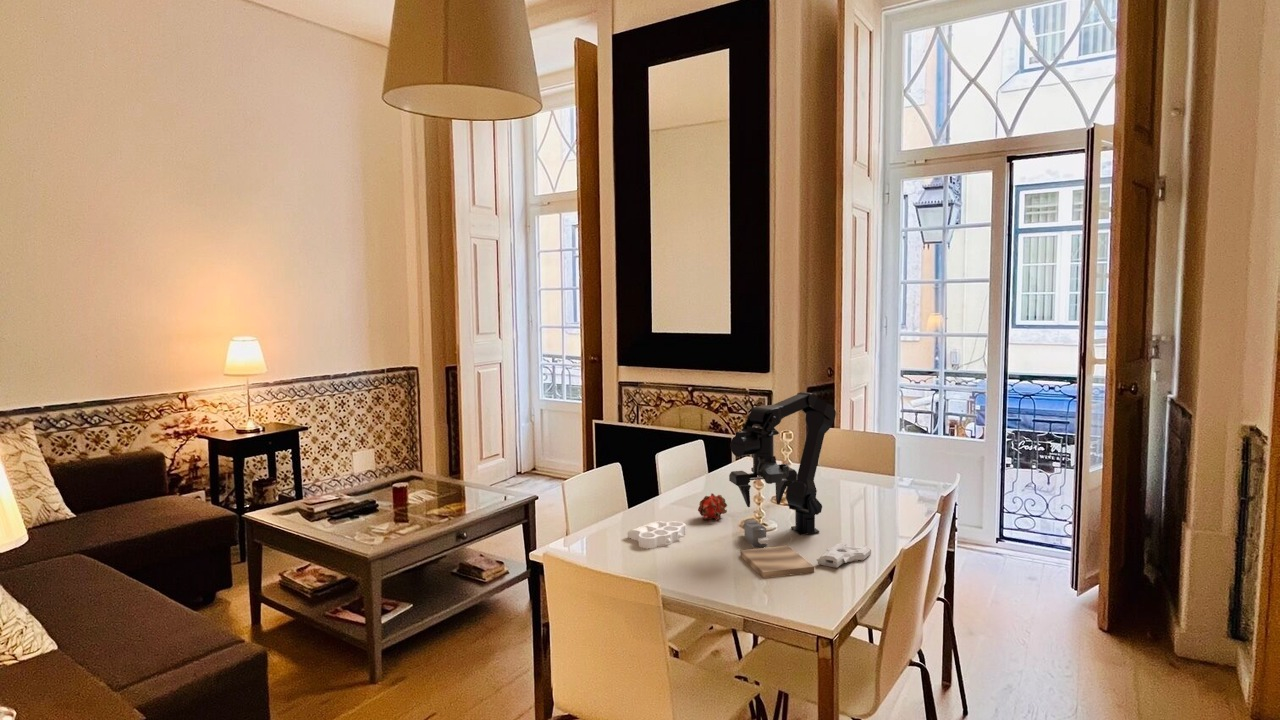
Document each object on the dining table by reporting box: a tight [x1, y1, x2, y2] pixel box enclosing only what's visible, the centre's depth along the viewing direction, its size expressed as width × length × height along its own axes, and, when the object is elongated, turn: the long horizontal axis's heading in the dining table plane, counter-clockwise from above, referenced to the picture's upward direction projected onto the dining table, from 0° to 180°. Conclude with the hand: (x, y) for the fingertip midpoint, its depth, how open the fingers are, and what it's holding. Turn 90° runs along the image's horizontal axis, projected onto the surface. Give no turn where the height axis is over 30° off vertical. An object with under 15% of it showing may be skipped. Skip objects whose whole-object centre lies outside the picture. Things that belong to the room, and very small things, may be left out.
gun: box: [815, 542, 872, 569], centre depth 188 cm, size 18×3×10 cm
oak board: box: [739, 545, 815, 579], centre depth 186 cm, size 16×14×2 cm
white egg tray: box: [626, 520, 687, 549], centre depth 207 cm, size 3×18×15 cm
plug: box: [742, 519, 770, 549], centre depth 202 cm, size 14×4×5 cm, turn 13°
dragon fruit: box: [697, 493, 728, 521], centre depth 225 cm, size 8×8×12 cm
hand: (763, 505), depth 200 cm, fingers open, 9 cm apart
